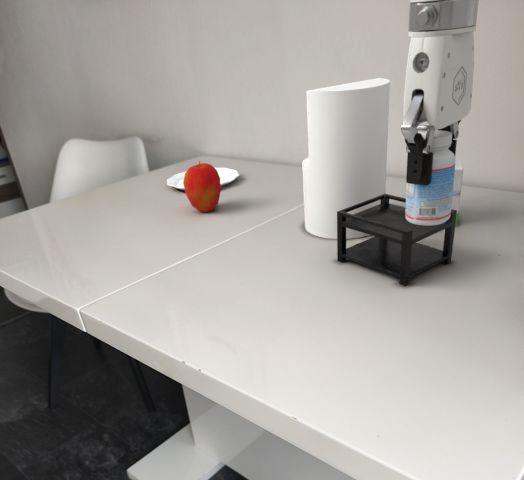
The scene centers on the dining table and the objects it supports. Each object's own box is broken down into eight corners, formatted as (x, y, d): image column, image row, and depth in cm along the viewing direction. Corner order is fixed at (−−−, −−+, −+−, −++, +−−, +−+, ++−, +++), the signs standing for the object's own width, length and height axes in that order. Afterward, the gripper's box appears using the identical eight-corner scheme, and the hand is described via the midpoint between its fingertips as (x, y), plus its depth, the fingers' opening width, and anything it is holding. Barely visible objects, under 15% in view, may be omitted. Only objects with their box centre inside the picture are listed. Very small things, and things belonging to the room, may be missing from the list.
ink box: (457, 225, 112) (464, 168, 106) (433, 225, 113) (438, 168, 107) (454, 212, 119) (460, 157, 113) (431, 212, 120) (436, 158, 114)
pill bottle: (458, 216, 75) (467, 130, 69) (435, 230, 71) (443, 141, 65) (419, 209, 78) (424, 127, 72) (396, 222, 75) (399, 137, 69)
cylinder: (401, 225, 115) (409, 80, 100) (335, 245, 109) (333, 94, 94) (351, 206, 128) (352, 75, 113) (290, 223, 122) (282, 87, 107)
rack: (451, 262, 98) (457, 210, 93) (404, 286, 91) (408, 231, 86) (383, 241, 109) (384, 193, 103) (337, 261, 102) (336, 211, 97)
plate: (155, 193, 151) (153, 187, 150) (186, 172, 168) (185, 167, 167) (223, 194, 145) (222, 188, 144) (249, 173, 161) (248, 167, 160)
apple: (197, 203, 140) (189, 156, 133) (229, 204, 137) (223, 156, 131) (182, 216, 133) (173, 166, 126) (215, 217, 130) (209, 166, 123)
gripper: (440, 24, 55) (427, 199, 64) (503, 10, 65) (483, 162, 75) (375, 28, 59) (372, 191, 69) (443, 14, 69) (432, 158, 79)
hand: (430, 175), depth 72 cm, fingers closed on pill bottle, 6 cm apart
